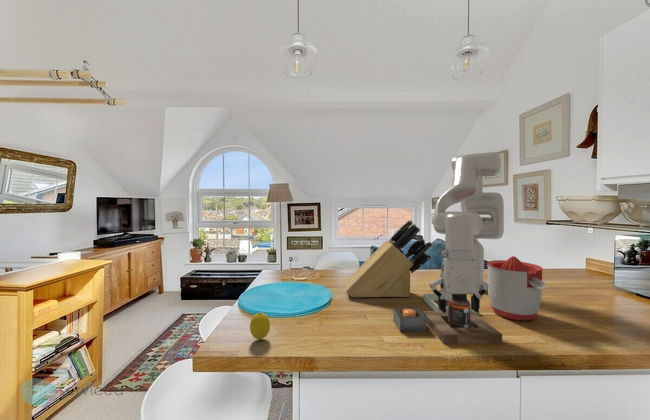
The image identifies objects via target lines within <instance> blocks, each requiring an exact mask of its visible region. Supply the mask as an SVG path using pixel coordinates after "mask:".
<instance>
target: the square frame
mask: <svg viewBox="0 0 650 420" xmlns="http://www.w3.org/2000/svg"><path fill="white" fill-rule="evenodd" d="M422 313H423V315H424V316H425V317H426V318H427V326H428V327H429V328H430V329H431V331H432V332H433V333H434V334H435V335H436V337H437V338H438V340H440V342H441V343H442V344H443V345H458V344H461V345H462V344H463V345H464V344H465V345H467V344H469V345H470V344H472V345H473V344H477V345H479V344H481V345H482V344H484V345H485V344H486V345H487V344H503V334H502V332H500V331H498V330H497V329H496V328H494V326H492V325H490V324H489V323H488V322H487V321H485V320H484V319H483V318H481V317H480V315H479V314H475V313H474V312H472V311H470V328H451V327H450V326H449V324H448V321H449V319H448V318H449V311H446V313H443V312H442V311H434V310H428V311H427V310H423V311H422Z"/></svg>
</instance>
